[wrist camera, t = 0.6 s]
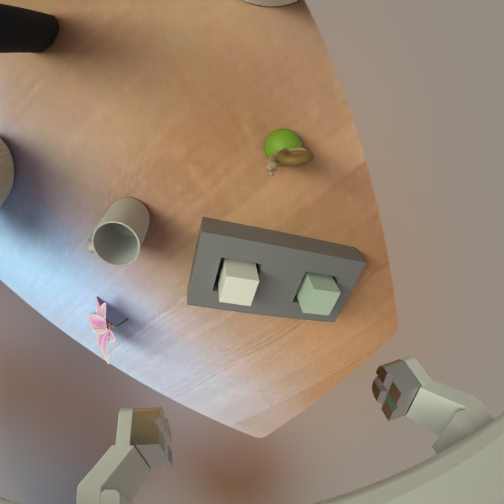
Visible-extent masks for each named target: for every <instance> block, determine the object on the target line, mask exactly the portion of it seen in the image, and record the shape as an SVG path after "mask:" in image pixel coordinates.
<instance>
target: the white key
mask: <svg viewBox="0 0 504 504" xmlns="http://www.w3.org/2000/svg"><path fill="white" fill-rule="evenodd" d="M258 284H259V277H258V273H257V268H256V264H255V263H252V262H246V261H240V260H234V259H228V258H224V262H223V266H222V270H221V273H220V277H219V281H218V290H219V302H224V303H231V304H238V305H245V306H251V303H252V300H253V298H254V295H255V292H256V289H257V286H258Z"/></svg>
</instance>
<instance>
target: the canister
mask: <svg viewBox="0 0 504 504" xmlns="http://www.w3.org/2000/svg"><path fill="white" fill-rule="evenodd" d="M12 158H13V157H12V155H11V152H10V151H9V149H8V147H7V145H6V143H5V142H3V140H2V139H0V207H1V205H2V204H3V203H4V201H5V200H6V199H7V197H8V195H9V193H10V192H11V188H12V186H13V181H14V174H15V173H14V162H13V159H12Z"/></svg>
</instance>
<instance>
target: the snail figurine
mask: <svg viewBox="0 0 504 504" xmlns="http://www.w3.org/2000/svg"><path fill="white" fill-rule="evenodd" d="M264 151H265V154H266V157H267V158H268V161H267V164H266V169H267V170H268V171H269V175H270V176H273V174H274V173H273V172H274V171H276V170H277V168H278V166H282V167H286V166H300V165H304V164H307V163H309V162H310V161H311V160H312V158H313V155H312V153H311V152H310V151H308V150H307V149H305V148H303V144H302V141H301V139H300V137H299V136H298V135H297V134H296V133H295V132H293V131H291V130H288V129H278V130H275V131H273V132H272V133H270V134H269V135H268V137H267V138H266V140H265V143H264Z"/></svg>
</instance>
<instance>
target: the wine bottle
mask: <svg viewBox="0 0 504 504" xmlns="http://www.w3.org/2000/svg"><path fill="white" fill-rule="evenodd" d="M58 29H59V25H58V21H57V20H56V18H55V17H54V16H52V15H49V14H45V13H41V12H37V11H33V10H29V9H24V8H20V7H15V6H10V5H4V4H0V53H9V52H32V53H37V52H42V51H44V50H46V49H47V48H48V47H50V46H51V45H52V43H53V42H54V40H55V39H56V37H57V34H58Z"/></svg>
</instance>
